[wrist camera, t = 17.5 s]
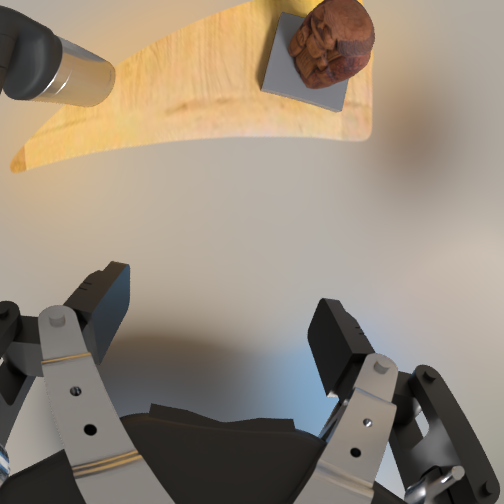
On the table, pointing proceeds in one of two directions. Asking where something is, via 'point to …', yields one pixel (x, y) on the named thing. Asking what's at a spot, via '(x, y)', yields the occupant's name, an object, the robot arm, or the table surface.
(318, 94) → the base
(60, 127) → the table surface
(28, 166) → the table surface
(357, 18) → the wooden figurine
